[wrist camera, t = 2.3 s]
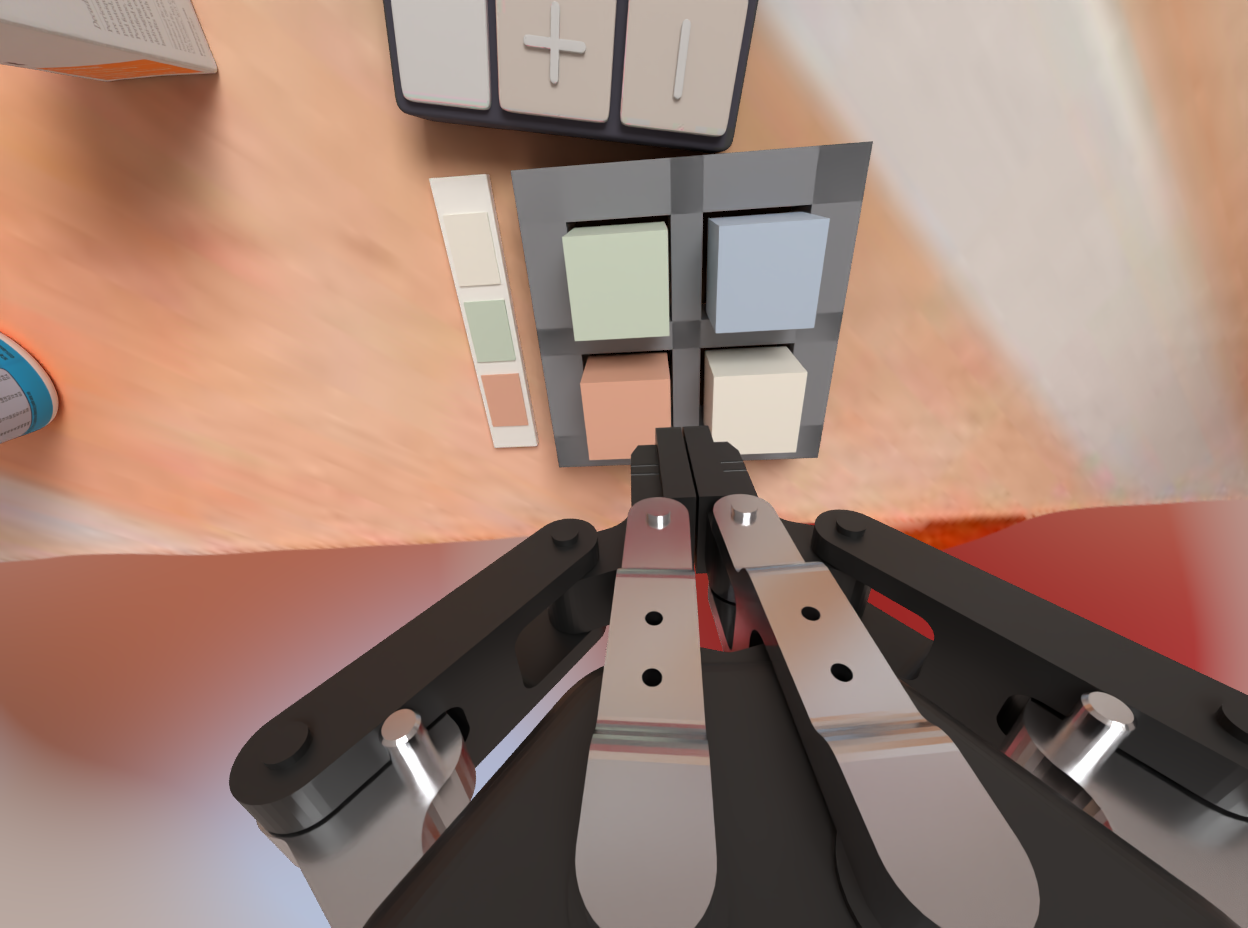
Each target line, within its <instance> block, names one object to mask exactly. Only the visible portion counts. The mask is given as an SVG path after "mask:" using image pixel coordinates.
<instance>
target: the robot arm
mask: <svg viewBox="0 0 1248 928" xmlns="http://www.w3.org/2000/svg"><path fill="white" fill-rule="evenodd" d="M631 502H632V507H631V508H630V510H629V513H628V517H627V518H626V519H625V520H624V521H623V522H622V523H620V524H618V525H617V526H614V527H612V528H609V529H606V530H602V531H598V532H597V531H596V529H595V528H594V527H593V526H592V525H591V524H590V523H588V522H586V521H583V520H579V519H562V520H557V521H554V522H552V523H550V524H547V525H546V526H544V527H543V528H541V529H540V530H538V531H537V532H536V533H534V534H533V535H531V536H530V537H529V538H527V539H526V540H524V541H523V542H522V543H520V544H519V545H517V546H516V547H514V548H513V549H512V550H510V551H509V552H508V553H506V554H505V555H503V556H502V557H500V558H499V559H497V560H496V561H495V562H493V563H492V564H490V565H489V566H488V567H486V568H485V569H484V570H482V571H481V572H479V573H478V574H477V575H475V576H474V577H472V578H471V579H469V580H468V581H466V582H465V583H464V584H462V585H461V586H459V587H458V588H456V589H455V590H454V591H452V592H451V593H449V594H448V595H447V596H445V597H444V598H442V599H441V600H440V601H438V602H437V603H435V604H434V605H432V606H431V607H430V608H428V609H427V610H426V611H424V612H423V613H421V614H420V615H418V616H417V617H416V618H414V619H413V620H411V621H410V622H408V623H407V624H406V625H404V626H403V627H401V628H400V629H399V630H397V631H396V632H394V633H393V634H391V635H390V636H389V637H387V638H386V639H384V640H383V641H382V642H380V643H379V644H377V645H376V646H375V647H373V648H372V649H370V650H369V651H368V652H366V653H365V654H363V655H362V656H360V657H359V658H358V659H356V660H355V661H353V662H352V663H351V664H349V665H348V666H346V667H345V668H343V669H342V670H341V671H339V672H338V673H336V674H335V675H334V676H332V677H331V678H329V679H328V680H326V681H325V682H324V683H322V684H321V685H319V686H318V687H317V688H315V689H314V690H312V691H311V692H310V693H308V694H307V695H305V696H304V697H302V698H301V699H300V700H298V701H297V702H296V703H294V704H293V705H291V706H290V707H288V708H287V709H285V710H284V711H283V712H281V713H280V714H279V715H277V716H276V717H274V718H273V719H271V720H270V721H269V722H267V723H266V724H265V725H264V726H262V727H261V728H260V729H259V730H258V731H257V732H256V733H255V734H254V735H253V736H252V737H251V738H250V739H249V740H248V742H247V743H246V744H245V745H244V747H243V748H242V749H241V751H240V753H239V754H238V756H237V757H236V759H235V762H234V764H233V766H232V769H231V773H230V778H229V779H230V780H229V786H230V791H231V793H232V795H233V796H234V797H235V798H236V800H237V801H238V802H239V803H240V804H241V805H242V806H243V807H244V808H245V809H246V810H247V811H248V812H249V813H250V814H251V815H252V816H253V817H254V818H255V819H256V822H257V825H258V827H259V829H260V830H261V831H262V832H263V833H264V834H265V835H266V836H267V837H268V838H269V839H270V840H271V841H272V842H273V843H274V844H275V845H276V846H277V847H278V848H279V849H280V850H281V851H282V852H283V853H284V854H285V855H286V856H287V858H289V860H290V861H291V862H292V863H293V864H294V865H295V866H297V867H299V868H300V869H301V871H302V873H303V875H304V877H305V878H306V880H307V882H308V884H309V886H310V888H311V890H312V892H313V893H314V895H315V897H316V899H317V901H318V903H319V905H320V907H321V909H322V911H323V912H324V914H325V916H326V918H327V920H328V922H329V924H330V926H331V928H1248V695H1246V694H1244V693H1242V692H1240V691H1238V690H1235V689H1233V688H1231V687H1229V686H1227V685H1225V684H1223V683H1220V682H1218V681H1216V680H1214V679H1212V678H1210V677H1208V676H1206V675H1204V674H1201V673H1199V672H1197V671H1195V670H1193V669H1191V668H1188V667H1186V666H1184V665H1182V664H1180V663H1178V662H1176V661H1174V660H1172V659H1170V658H1168V657H1165V656H1163V655H1161V654H1159V653H1157V652H1154V651H1153V650H1151V649H1148V648H1146V647H1144V646H1142V645H1140V644H1138V643H1136V642H1134V641H1131V640H1129V639H1127V638H1125V637H1123V636H1121V635H1119V634H1117V633H1114V632H1112V631H1110V630H1108V629H1106V628H1104V627H1102V626H1100V625H1097V624H1095V623H1093V622H1091V621H1089V620H1087V619H1084V618H1082V617H1080V616H1078V615H1076V614H1074V613H1072V612H1070V611H1067V610H1066V609H1064V608H1061V607H1059V606H1057V605H1055V604H1053V603H1051V602H1049V601H1047V600H1044V599H1042V598H1040V597H1038V596H1036V595H1034V594H1031V593H1029V592H1027V591H1025V590H1023V589H1021V588H1019V587H1017V586H1015V585H1012V584H1010V583H1008V582H1006V581H1004V580H1002V579H1000V578H998V577H996V576H993V575H991V574H989V573H987V572H985V571H983V570H980V569H979V568H976V567H974V566H972V565H970V564H968V563H966V562H963V561H961V560H959V559H957V558H955V557H953V556H951V555H949V554H947V553H945V552H942V551H940V550H938V549H936V548H934V547H932V546H930V545H928V544H926V543H923V542H921V541H919V540H917V539H915V538H913V537H911V536H909V535H906V534H904V533H902V532H900V531H898V530H896V529H894V528H892V527H889V526H887V525H885V524H883V523H881V522H879V521H877V520H875V519H872V518H870V517H868V516H866V515H864V514H861V513H858V512H854V511H849V510H830V511H827V512H824V513H822V514H820V515H819V516H818V517H817V519H816V521H815V525H814V526H813V525H808V524H802V523H796V522H791V521H787V520H784V519H781V518H779V517H778V515H777V513H776V511H775V510H774V508H773V507H772V506H771V505H770V504H769V503H768V502H767V501H765V500H763V499H761V498H759V497H758V496H757V493H756V491H755V489H754V486H753V484H752V481H751V479H750V477H749V474H748V472H747V471H746V467H745V465H744V463H743V460H742V457H741V455H740V453H739V450H738V449H736V448H735V447H734V446H732V445H731V444H730V443H729V442H714V441H713V438H712V435H711V432H710V429H709V426H684V427H682V430H681V427H662V428H655V445H638V446H637V447H636V449H635V450H634V451H633V452H632V454H631ZM694 564H695V569H696V573H707V575H708V580H709V587H708V600H709V604H710V607H711V610H712V614H713V617H714V621H715V624H716V627H717V631H718V634H719V637H720V641H721V644H722V647H723V651H724V652H722V651H717V650H712V649H706V648H701V647H700V640H699V627H698V611H697V597H696V582H695V572H694ZM871 588H872V589H874V590H875V591H877V592H879V593H881V594H883V595H884V596H886V597H888V598H889V599H891V600H893V601H895V602H896V603H898V604H900V605H902V606H903V607H905V608H907V609H908V610H910V611H912V612H914V613H915V614H917V615H919V616H920V617H922V618H923V619H924V620H926V622H928V624H929V625H930V626H931V628H932V630H933V632H934V641H933V640H930V639H928V638H926V637H925V636H923V635H921V634H920V633H918V632H916V631H915V630H913V629H911V628H910V627H908V626H906V625H905V624H903V623H901V622H900V621H898V620H896V619H895V618H893V617H891V616H890V615H888V614H887V613H885V612H883V611H882V610H880V609H878V608H877V607H874V606H873V605H872V604H870V603H868V602H867V601H868V597H869V594H870V591H871ZM607 625H610V626H609V634H608V641H607V649H606V656H605V664H604V666H603V667H600V668H599V669H597V670H595V671H593V672H591V673H589V674H588V675H586V676H585V677H584V678H582V679H581V680H579V681H578V682H577V683H576V684H575V685H574V686H572V687H571V688H570V689H569V690H568V691H567V692H566V693H565V694H564V695H563V696H562V697H561V699H560V700H559V701H558V702H557V703H556V704H555V705H554V707H553V708H552V709H551V710H550V711H549V712H548V713H547V715H546V716H545V717H544V718H543V719H542V720H541V721H540V723H539V724H538V725H537V726H536V727H535V728H534V729H533V731H532V732H531V733H530V734H529V735H528V736H527V737H526V739H525V740H524V741H523V742H522V743H521V744H520V745H519V747H518V748H517V749H516V750H515V751H514V753H512V755H511V756H510V757H509V758H508V759H507V760H506V761H505V763H504V764H503V765H502V766H501V767H500V768H499V769H498V771H497V772H496V773H495V774H494V775H493V776H492V777H491V779H490V780H489V781H488V782H487V783H486V784H485V785H484V787H483V788H482V789H481V790H480V791H479V792H478V793H477V795H476V796H475V797H474V798H473V799H472V801H471V798H472V796H473V793H474V789H475V784H476V771H475V768H476V767H477V765H479V763H480V762H481V761H482V760H483V759H484V758H485V757H486V756H487V755H488V754H489V753H490V752H491V751H492V750H493V749H494V748H495V747H496V746H497V745H498V744H499V743H500V742H501V741H502V740H503V739H504V738H505V737H506V736H507V735H508V734H509V732H510V731H511V730H512V729H513V728H514V727H515V726H516V725H517V724H518V723H519V722H520V721H521V720H522V719H523V718H524V717H525V716H526V715H527V714H528V713H529V712H530V711H531V710H532V709H533V707H535V706H536V704H538V702H539V701H540V700H541V699H542V698H543V697H544V696H545V695H546V694H547V693H548V692H549V691H550V690H551V689H552V688H553V687H554V686H555V685H556V684H557V683H558V682H559V681H560V680H561V679H562V678H563V677H564V676H565V674H567V673H568V671H569V670H570V669H571V668H572V667H573V666H574V665H575V664H576V663H577V662H578V661H579V660H580V659H581V658H582V657H583V656H584V655H585V654H586V653H587V652H588V651H589V650H590V649H591V647H593V646H594V645H595V643H597V641H598V640H599V639H600V638H601V637H602V636H603V634H604V632H605V629H606V626H607Z"/></svg>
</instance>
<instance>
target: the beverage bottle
mask: <svg viewBox="0 0 1248 928" xmlns="http://www.w3.org/2000/svg"><path fill="white" fill-rule="evenodd" d="M57 411H58V396H57V392H56V390H55V387H54V385H53V383H52V381H51V379H50V378H49V376H48V375H47V373H46V372H45V370H44V369H43V368H42V367H41V365H40V364H39V363H38V362H37V361H36V360H35V359H34V358H33V357H32V356H31V355H30V354H29V353H28V352H27V351H26V350H25V349H24V348H22V347H21V346H20V345H19V344H17V343H16V342H15V341H13V340H12V339H10V338H9V337H7V336H6V335H4V334H2V333H1V332H0V443H3V442H5V441H8V440H11V439H14V438H17V437H20V436H23V435H26V434H29V433H31V432H34V431H36V430H38V429H41V428H43V427H45V426H46V425H48V424H49V423H50V422H51V421H52V420H53V419H54V418H55V416H56V414H57Z"/></svg>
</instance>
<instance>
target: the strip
mask: <svg viewBox="0 0 1248 928" xmlns="http://www.w3.org/2000/svg"><path fill="white" fill-rule="evenodd" d="M429 180H430V185H431V189H432V193H433V197H434V201H435V205H436V209H437V213H438V217H439V222H440V226H441V230H442V234H443V238H444V242H445V246H446V250H447V254H448V258H449V263H450V267H451V271H452V275H453V279H454V283H455V287H456V291H457V295H458V300H459V304H460V308H461V312H462V316H463V320H464V324H465V328H466V332H467V337H468V341H469V345H470V349H471V353H472V357H473V361H474V365H475V369H476V373H477V378H478V382H479V386H480V390H481V394H482V398H483V402H484V406H485V410H486V415H487V419H488V423H489V427H490V431H491V435H492V439H493V443H494V447H495V448H501V447H525V446H537V445H538V443H539V440H538V435H537V429H536V424H535V419H534V413H533V408H532V402H531V397H530V392H529V386H528V381H527V375H526V370H525V365H524V359H523V354H522V348H521V343H520V338H519V332H518V327H517V321H516V316H515V311H514V305H513V300H512V294H511V289H510V284H509V278H508V273H507V267H506V262H505V257H504V251H503V246H502V240H501V235H500V230H499V224H498V219H497V213H496V208H495V203H494V197H493V192H492V186H491V181H490V176H489V174H479V175H467V176H454V177H442V178H429Z"/></svg>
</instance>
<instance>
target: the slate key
mask: <svg viewBox="0 0 1248 928" xmlns="http://www.w3.org/2000/svg"><path fill="white" fill-rule="evenodd" d="M829 222H830V218H826V217H822V216H818V215H814V214H810V213H806V212H788V213H774V214H760V215H746V216H732V217H718V218H708V241H707V282H706V313H707V315H708V318H709V320H710V322H711V324H712V327H713V329H714V331H715V333H733V332H751V331H769V330H787V329H805V328H814V325H815V318H816V311H817V304H818V297H819V291H820V284H821V277H822V270H823V263H824V256H825V249H826V242H827V235H828V229H829Z"/></svg>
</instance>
